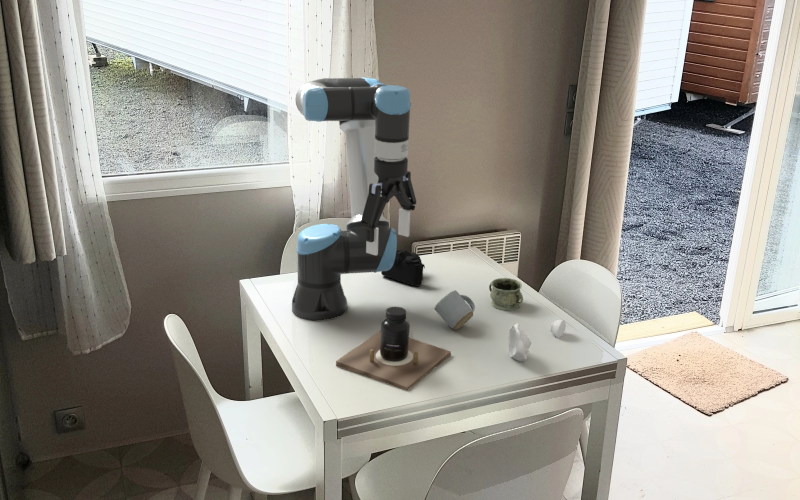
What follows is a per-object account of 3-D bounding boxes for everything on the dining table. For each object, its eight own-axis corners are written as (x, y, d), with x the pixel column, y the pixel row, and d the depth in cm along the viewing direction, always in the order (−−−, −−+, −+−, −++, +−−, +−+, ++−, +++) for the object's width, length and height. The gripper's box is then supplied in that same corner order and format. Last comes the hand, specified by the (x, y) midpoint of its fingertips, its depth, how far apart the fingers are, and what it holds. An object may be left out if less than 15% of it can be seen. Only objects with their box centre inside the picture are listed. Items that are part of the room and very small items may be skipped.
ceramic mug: (452, 335, 204) (458, 324, 198) (431, 313, 207) (436, 300, 200) (480, 313, 209) (487, 300, 202) (459, 291, 211) (465, 278, 204)
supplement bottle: (387, 365, 183) (389, 319, 179) (375, 351, 189) (376, 307, 184) (413, 359, 186) (415, 314, 182) (400, 346, 192) (401, 302, 187)
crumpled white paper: (533, 371, 186) (537, 335, 182) (515, 371, 185) (519, 335, 182) (524, 350, 195) (527, 315, 191) (506, 350, 195) (510, 315, 191)
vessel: (531, 307, 218) (533, 286, 216) (511, 316, 213) (513, 295, 210) (498, 293, 226) (499, 273, 224) (478, 301, 221) (479, 281, 218)
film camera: (435, 278, 235) (437, 250, 232) (416, 288, 228) (417, 260, 224) (396, 265, 243) (396, 238, 240) (376, 274, 236) (377, 246, 233)
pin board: (336, 366, 185) (336, 349, 183) (382, 334, 201) (383, 318, 199) (407, 393, 175) (407, 375, 174) (450, 356, 191) (451, 340, 189)
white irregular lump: (558, 341, 200) (560, 324, 198) (547, 338, 201) (549, 321, 199) (565, 334, 204) (567, 317, 202) (554, 331, 205) (556, 314, 203)
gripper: (373, 174, 162) (371, 266, 171) (433, 147, 182) (428, 231, 190) (344, 167, 166) (343, 257, 174) (406, 141, 185) (402, 224, 194)
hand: (388, 244), depth 182 cm, fingers open, 13 cm apart
